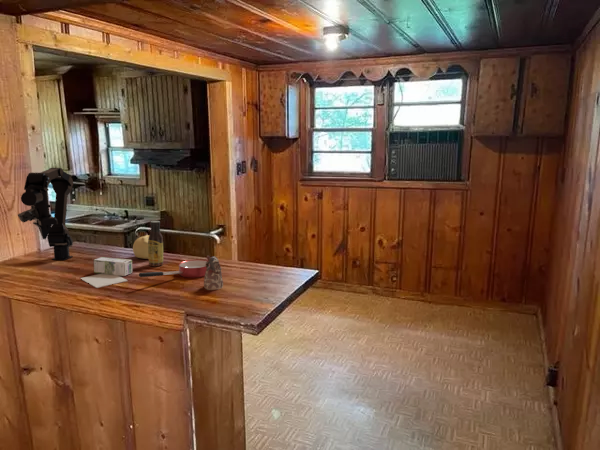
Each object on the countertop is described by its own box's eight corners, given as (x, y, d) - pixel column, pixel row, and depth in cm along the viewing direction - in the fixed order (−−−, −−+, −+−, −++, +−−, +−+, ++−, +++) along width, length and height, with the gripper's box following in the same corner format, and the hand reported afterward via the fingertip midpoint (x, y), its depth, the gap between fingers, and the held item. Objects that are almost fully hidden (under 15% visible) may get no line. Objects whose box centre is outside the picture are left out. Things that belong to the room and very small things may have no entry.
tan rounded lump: (155, 260, 199) (154, 238, 197) (129, 260, 200) (128, 237, 198) (163, 254, 211) (162, 233, 209) (139, 254, 211) (137, 232, 209)
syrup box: (101, 269, 183) (133, 272, 181) (93, 273, 178) (125, 276, 175) (101, 256, 183) (133, 259, 180) (92, 259, 177) (125, 262, 174)
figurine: (214, 291, 159) (213, 259, 157) (200, 287, 163) (198, 257, 160) (227, 286, 165) (226, 255, 163) (213, 282, 169) (212, 253, 166)
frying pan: (157, 294, 156) (156, 277, 155) (133, 287, 163) (132, 271, 162) (217, 272, 183) (217, 257, 182) (195, 267, 190) (195, 253, 188)
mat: (80, 278, 172) (80, 278, 172) (110, 272, 181) (110, 271, 181) (96, 288, 161) (96, 287, 161) (127, 281, 170) (127, 280, 170)
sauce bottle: (145, 266, 191) (143, 221, 187) (155, 262, 196) (153, 219, 193) (157, 267, 188) (155, 222, 185) (167, 264, 194) (164, 220, 190)
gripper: (12, 202, 181) (16, 238, 184) (25, 206, 169) (29, 245, 171) (41, 199, 189) (45, 234, 192) (56, 204, 176) (59, 241, 179)
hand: (44, 239), depth 183 cm, fingers closed
